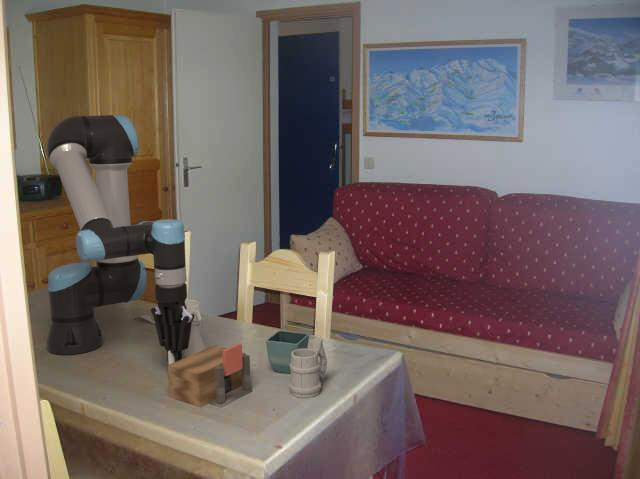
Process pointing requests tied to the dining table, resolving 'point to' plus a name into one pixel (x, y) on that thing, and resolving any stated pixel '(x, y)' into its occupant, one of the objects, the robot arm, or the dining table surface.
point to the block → (207, 379)
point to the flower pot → (284, 348)
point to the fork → (146, 318)
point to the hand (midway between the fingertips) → (175, 375)
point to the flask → (195, 340)
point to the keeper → (232, 359)
